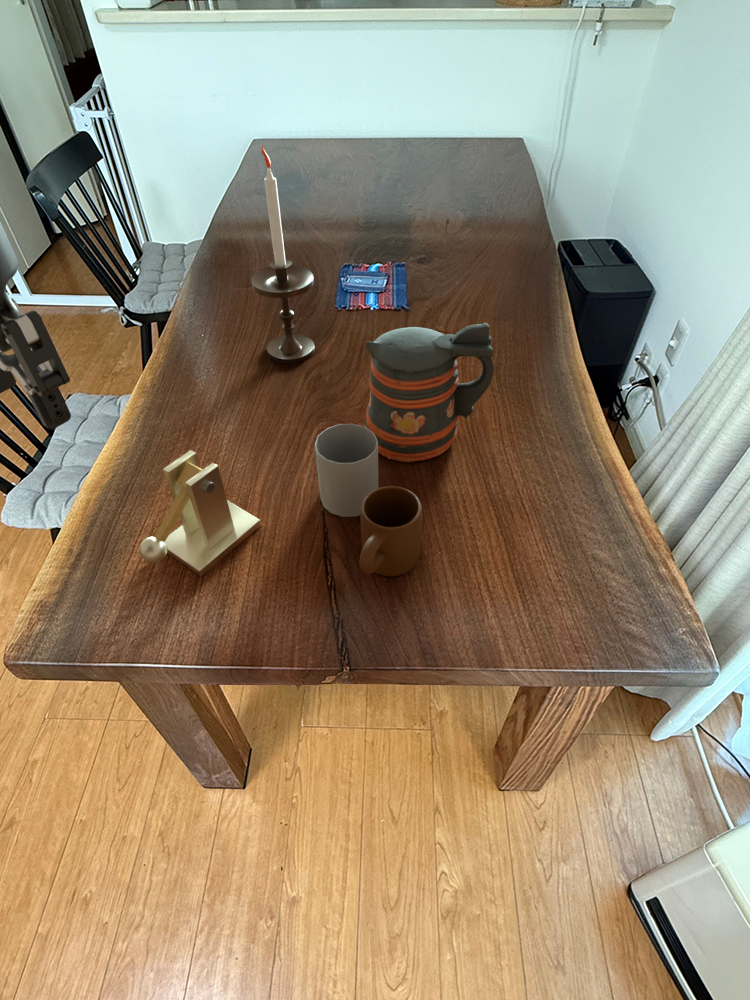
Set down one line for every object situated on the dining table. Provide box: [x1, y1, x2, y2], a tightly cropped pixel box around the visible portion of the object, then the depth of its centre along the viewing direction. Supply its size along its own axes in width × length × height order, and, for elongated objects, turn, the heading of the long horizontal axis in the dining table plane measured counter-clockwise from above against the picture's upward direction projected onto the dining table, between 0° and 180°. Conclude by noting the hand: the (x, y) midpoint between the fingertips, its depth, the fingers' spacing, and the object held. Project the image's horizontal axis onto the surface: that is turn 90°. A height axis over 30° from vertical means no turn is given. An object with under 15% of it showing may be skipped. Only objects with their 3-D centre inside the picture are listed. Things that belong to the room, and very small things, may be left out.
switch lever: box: [139, 463, 204, 563], centre depth 73 cm, size 13×3×3 cm
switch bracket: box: [162, 449, 262, 577], centre depth 77 cm, size 11×8×13 cm
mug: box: [359, 485, 423, 577], centre depth 74 cm, size 12×8×9 cm, turn 156°
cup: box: [314, 423, 379, 518], centre depth 83 cm, size 8×8×10 cm
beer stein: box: [364, 322, 495, 463], centre depth 90 cm, size 19×15×20 cm
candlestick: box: [250, 145, 316, 364], centre depth 103 cm, size 11×11×35 cm
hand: (31, 405), depth 52 cm, fingers open, 8 cm apart
